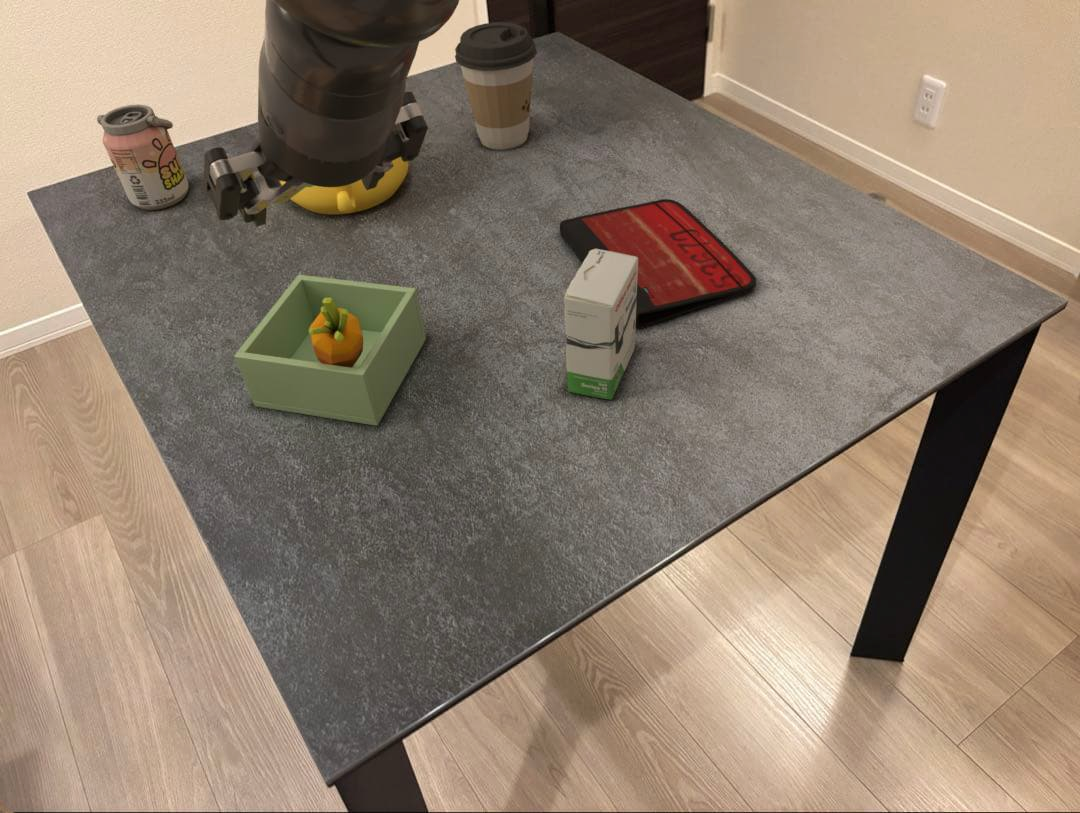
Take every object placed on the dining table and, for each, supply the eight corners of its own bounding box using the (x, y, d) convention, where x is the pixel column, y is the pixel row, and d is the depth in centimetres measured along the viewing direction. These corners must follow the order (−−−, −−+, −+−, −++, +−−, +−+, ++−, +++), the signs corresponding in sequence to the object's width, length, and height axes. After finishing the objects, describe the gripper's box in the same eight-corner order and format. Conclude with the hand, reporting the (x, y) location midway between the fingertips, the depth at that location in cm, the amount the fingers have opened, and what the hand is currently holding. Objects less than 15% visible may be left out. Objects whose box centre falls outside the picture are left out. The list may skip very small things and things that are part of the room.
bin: (377, 426, 81) (363, 375, 76) (254, 406, 84) (233, 356, 79) (426, 338, 90) (416, 288, 85) (314, 323, 93) (298, 274, 89)
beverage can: (151, 177, 120) (117, 97, 112) (205, 179, 119) (174, 98, 111) (119, 211, 114) (80, 129, 106) (175, 213, 113) (140, 130, 104)
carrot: (361, 392, 86) (356, 345, 71) (312, 384, 85) (298, 335, 71) (369, 347, 87) (367, 293, 73) (322, 339, 86) (309, 282, 72)
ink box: (612, 402, 81) (612, 306, 73) (565, 392, 83) (560, 296, 75) (637, 347, 87) (640, 252, 79) (592, 338, 89) (591, 244, 80)
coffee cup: (541, 154, 118) (535, 48, 108) (462, 158, 119) (448, 53, 108) (542, 118, 126) (536, 16, 116) (468, 122, 127) (455, 21, 116)
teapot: (283, 152, 124) (256, 60, 114) (401, 133, 126) (384, 41, 116) (284, 241, 106) (251, 141, 96) (420, 217, 108) (402, 117, 98)
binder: (636, 313, 87) (558, 219, 101) (635, 331, 89) (558, 235, 103) (766, 278, 91) (673, 192, 106) (762, 295, 93) (671, 208, 107)
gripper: (419, 1, 48) (379, 120, 63) (171, 63, 43) (192, 176, 58) (472, 121, 48) (419, 211, 63) (231, 197, 43) (237, 274, 58)
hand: (310, 194), depth 61 cm, fingers open, 8 cm apart
